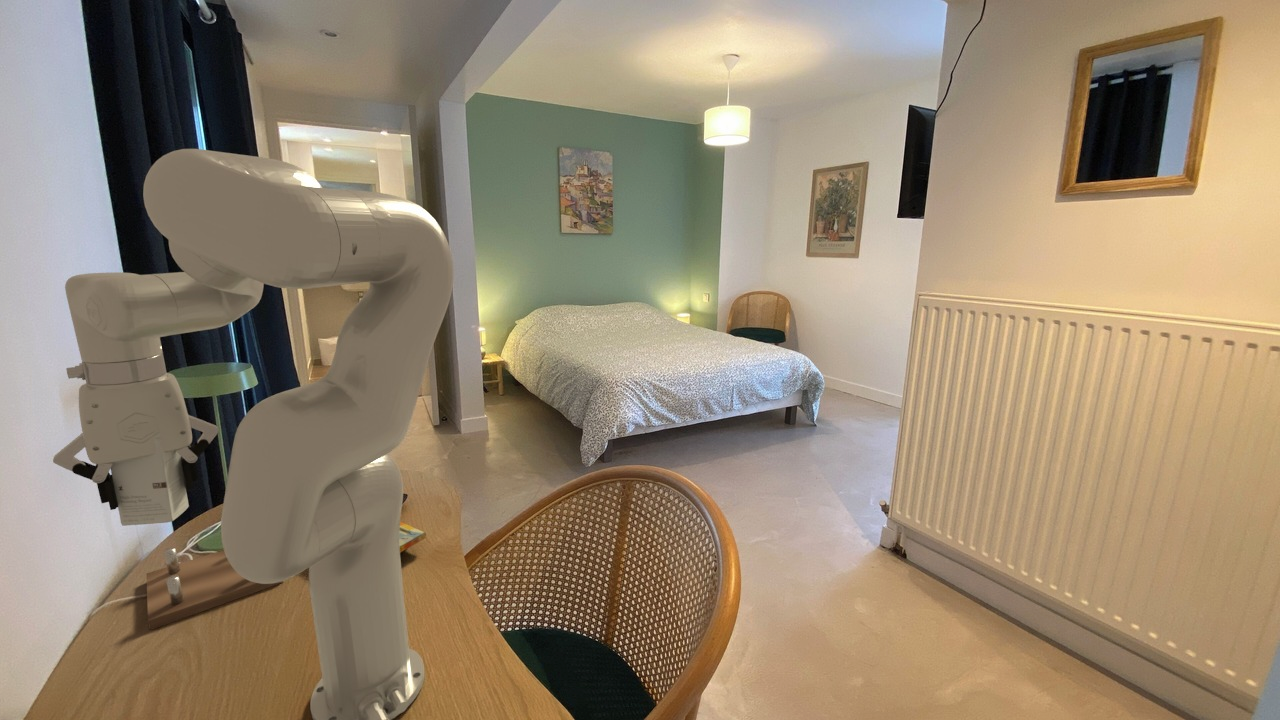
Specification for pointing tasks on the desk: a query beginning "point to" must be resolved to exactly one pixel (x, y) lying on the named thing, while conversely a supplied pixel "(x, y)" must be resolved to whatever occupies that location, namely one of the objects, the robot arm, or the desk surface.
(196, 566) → the post stand
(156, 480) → the skincare box
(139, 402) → the robot arm
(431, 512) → the desk surface
